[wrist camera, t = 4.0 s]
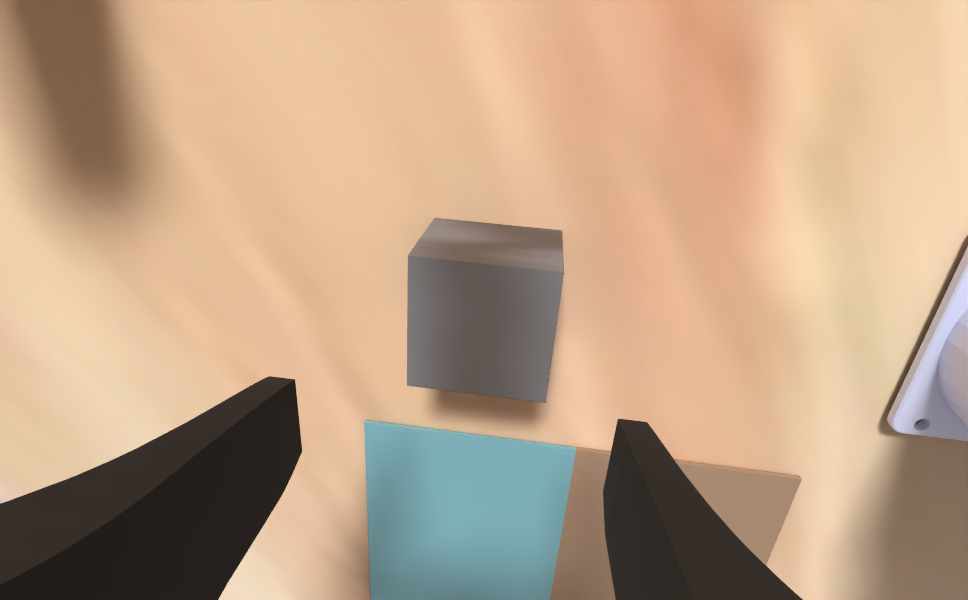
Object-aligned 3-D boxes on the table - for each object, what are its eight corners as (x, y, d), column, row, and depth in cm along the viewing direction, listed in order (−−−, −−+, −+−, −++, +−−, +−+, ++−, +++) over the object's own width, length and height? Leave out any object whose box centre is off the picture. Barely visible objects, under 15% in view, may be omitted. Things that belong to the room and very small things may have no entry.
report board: (799, 475, 22) (801, 479, 22) (724, 659, 27) (725, 664, 27) (365, 420, 23) (364, 423, 23) (372, 605, 28) (371, 608, 28)
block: (562, 229, 19) (563, 272, 15) (547, 341, 21) (545, 402, 17) (435, 217, 19) (407, 255, 16) (432, 328, 21) (406, 385, 17)
